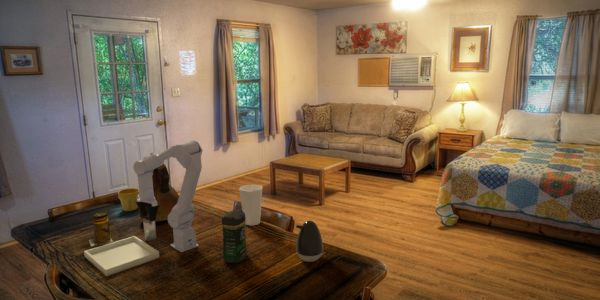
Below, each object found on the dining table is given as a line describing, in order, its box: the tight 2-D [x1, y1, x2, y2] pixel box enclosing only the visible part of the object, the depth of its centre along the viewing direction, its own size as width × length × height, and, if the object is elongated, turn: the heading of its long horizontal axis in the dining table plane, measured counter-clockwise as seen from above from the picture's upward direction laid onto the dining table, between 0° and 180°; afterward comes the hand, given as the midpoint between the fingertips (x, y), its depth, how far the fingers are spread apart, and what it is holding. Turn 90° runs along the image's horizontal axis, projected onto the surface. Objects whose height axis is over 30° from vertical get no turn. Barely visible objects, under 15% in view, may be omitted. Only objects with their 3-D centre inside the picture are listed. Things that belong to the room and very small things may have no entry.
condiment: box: [88, 212, 114, 247], centre depth 176 cm, size 7×8×12 cm
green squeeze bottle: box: [221, 209, 248, 264], centre depth 158 cm, size 10×8×19 cm
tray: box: [83, 235, 160, 277], centre depth 162 cm, size 22×20×2 cm
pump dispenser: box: [295, 220, 324, 263], centre depth 156 cm, size 10×10×15 cm
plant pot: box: [117, 187, 139, 212], centre depth 216 cm, size 10×10×10 cm
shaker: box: [142, 217, 157, 242], centre depth 178 cm, size 5×5×9 cm
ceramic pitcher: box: [137, 163, 180, 223], centre depth 198 cm, size 20×20×30 cm
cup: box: [238, 183, 264, 226], centre depth 193 cm, size 11×10×17 cm
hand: (148, 218), depth 177 cm, fingers open, 7 cm apart
